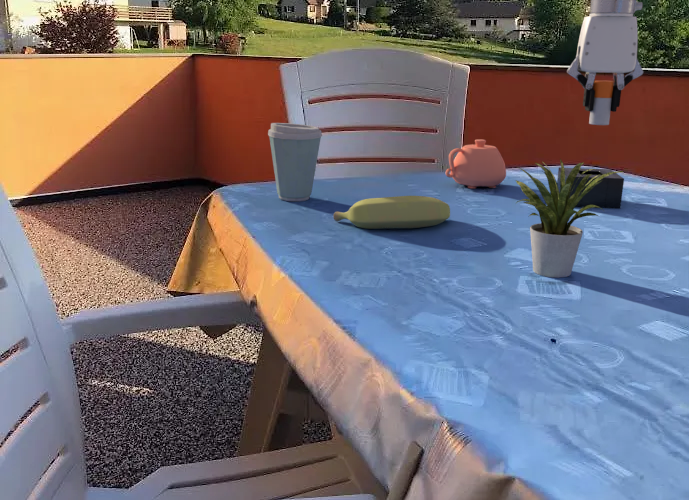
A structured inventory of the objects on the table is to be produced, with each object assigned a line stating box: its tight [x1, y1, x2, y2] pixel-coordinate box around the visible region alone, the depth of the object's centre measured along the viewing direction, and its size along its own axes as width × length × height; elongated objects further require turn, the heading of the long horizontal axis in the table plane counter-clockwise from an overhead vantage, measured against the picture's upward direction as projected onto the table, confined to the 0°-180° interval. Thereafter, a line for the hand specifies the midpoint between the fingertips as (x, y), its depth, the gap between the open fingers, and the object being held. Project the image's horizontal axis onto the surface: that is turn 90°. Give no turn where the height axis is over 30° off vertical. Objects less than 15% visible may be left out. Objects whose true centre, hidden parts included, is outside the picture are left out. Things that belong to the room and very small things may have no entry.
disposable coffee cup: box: [267, 122, 323, 203], centre depth 141 cm, size 11×11×15 cm
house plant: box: [514, 158, 622, 279], centre depth 98 cm, size 14×14×16 cm
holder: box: [556, 166, 625, 210], centre depth 144 cm, size 11×11×6 cm
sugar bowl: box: [445, 138, 507, 190], centre depth 158 cm, size 12×14×10 cm
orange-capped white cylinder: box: [588, 79, 614, 126], centre depth 134 cm, size 4×4×8 cm
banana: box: [332, 195, 451, 230], centre depth 124 cm, size 14×6×20 cm
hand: (600, 109), depth 134 cm, fingers closed on orange-capped white cylinder, 3 cm apart
